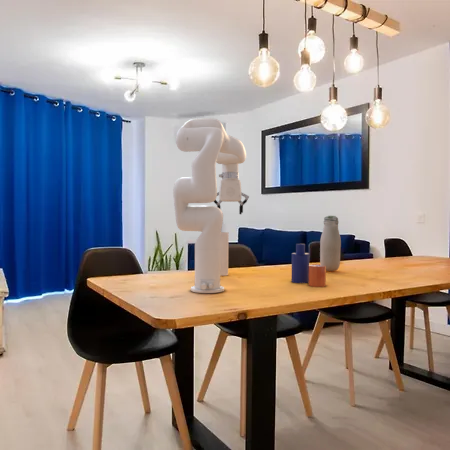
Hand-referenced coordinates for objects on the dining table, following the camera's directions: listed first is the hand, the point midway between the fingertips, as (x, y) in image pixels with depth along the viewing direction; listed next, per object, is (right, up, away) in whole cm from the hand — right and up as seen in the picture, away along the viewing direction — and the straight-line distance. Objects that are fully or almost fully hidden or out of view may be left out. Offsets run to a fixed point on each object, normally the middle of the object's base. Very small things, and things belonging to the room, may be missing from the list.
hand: (230, 214), depth 200 cm
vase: (-5, -29, +8) cm, 30 cm away
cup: (+35, -29, -24) cm, 51 cm away
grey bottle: (+51, -28, +19) cm, 61 cm away
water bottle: (+30, -29, -15) cm, 44 cm away
